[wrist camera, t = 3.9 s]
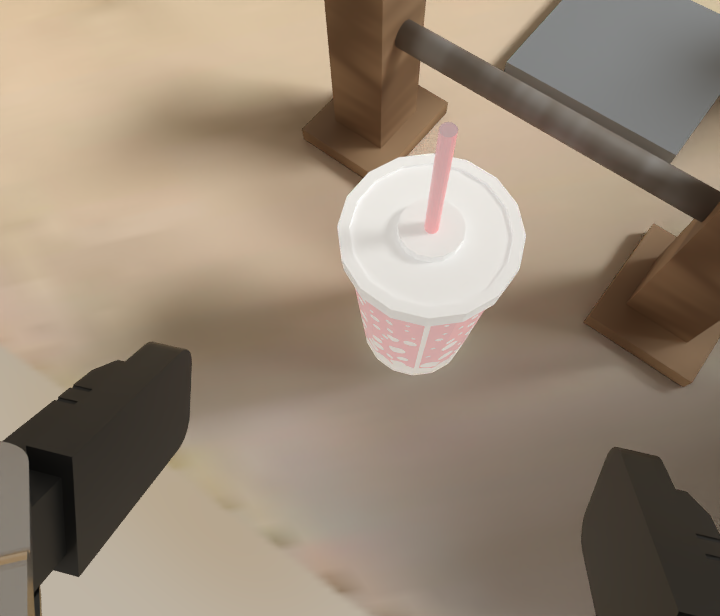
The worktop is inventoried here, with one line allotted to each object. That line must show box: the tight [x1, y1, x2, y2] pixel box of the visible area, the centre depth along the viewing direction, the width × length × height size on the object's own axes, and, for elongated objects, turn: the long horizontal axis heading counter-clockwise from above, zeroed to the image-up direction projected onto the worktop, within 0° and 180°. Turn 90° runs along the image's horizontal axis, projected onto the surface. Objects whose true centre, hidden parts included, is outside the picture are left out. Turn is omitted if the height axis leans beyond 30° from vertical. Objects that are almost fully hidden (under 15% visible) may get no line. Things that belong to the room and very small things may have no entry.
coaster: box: [504, 0, 720, 164], centre depth 33 cm, size 10×10×1 cm
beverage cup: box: [337, 122, 526, 375], centre depth 21 cm, size 6×6×14 cm
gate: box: [302, 0, 720, 387], centre depth 25 cm, size 22×6×11 cm, turn 52°
